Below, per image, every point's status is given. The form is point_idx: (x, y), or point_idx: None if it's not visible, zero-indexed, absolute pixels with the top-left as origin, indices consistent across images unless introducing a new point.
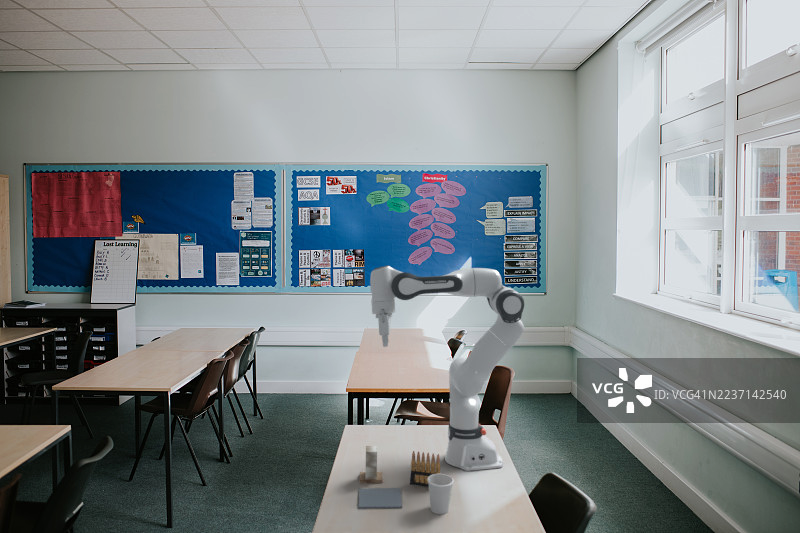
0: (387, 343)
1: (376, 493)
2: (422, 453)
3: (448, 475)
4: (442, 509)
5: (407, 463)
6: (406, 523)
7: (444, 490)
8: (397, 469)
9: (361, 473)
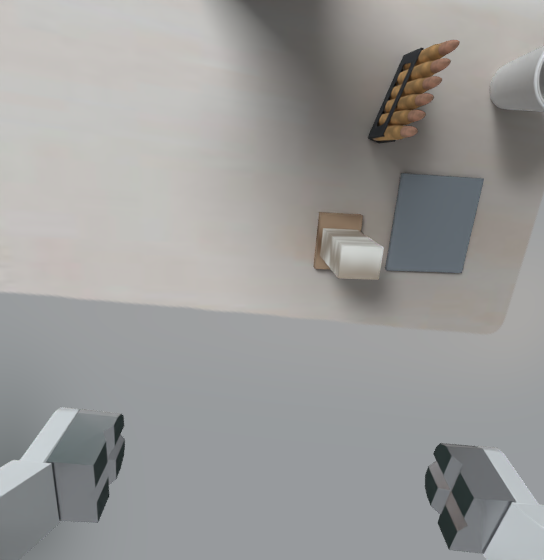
0: (518, 479)
1: (416, 232)
2: (430, 101)
3: None
4: (540, 82)
5: (255, 131)
6: (538, 176)
7: None
8: (291, 166)
9: (322, 265)
